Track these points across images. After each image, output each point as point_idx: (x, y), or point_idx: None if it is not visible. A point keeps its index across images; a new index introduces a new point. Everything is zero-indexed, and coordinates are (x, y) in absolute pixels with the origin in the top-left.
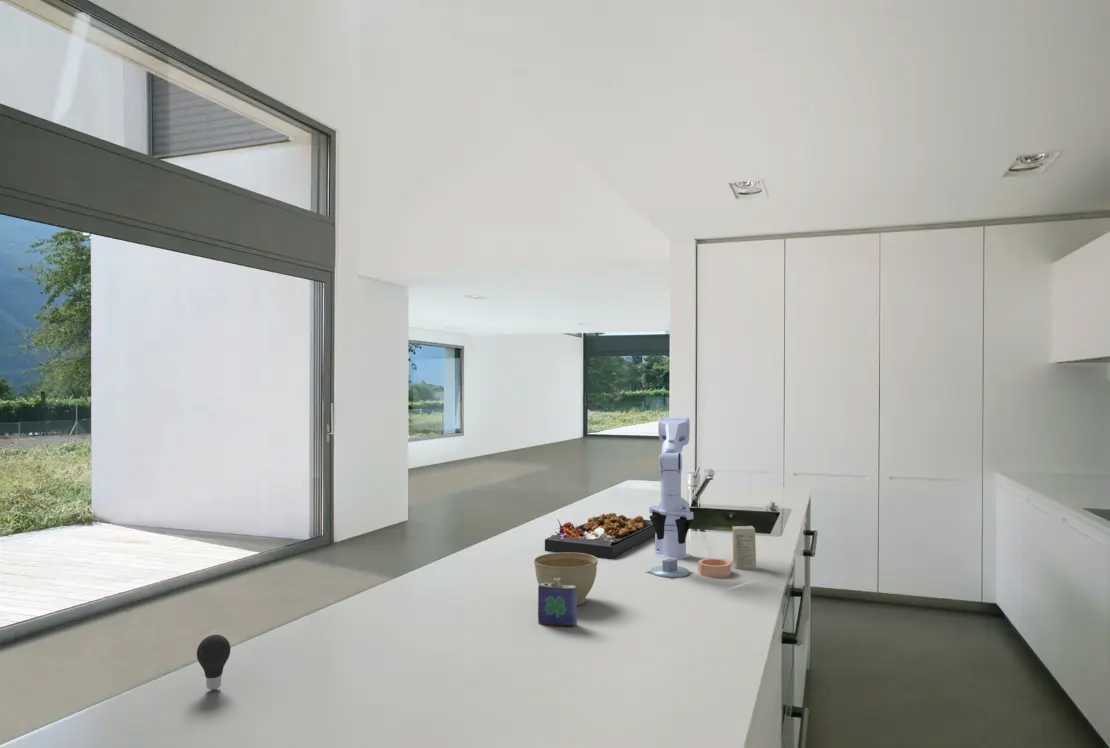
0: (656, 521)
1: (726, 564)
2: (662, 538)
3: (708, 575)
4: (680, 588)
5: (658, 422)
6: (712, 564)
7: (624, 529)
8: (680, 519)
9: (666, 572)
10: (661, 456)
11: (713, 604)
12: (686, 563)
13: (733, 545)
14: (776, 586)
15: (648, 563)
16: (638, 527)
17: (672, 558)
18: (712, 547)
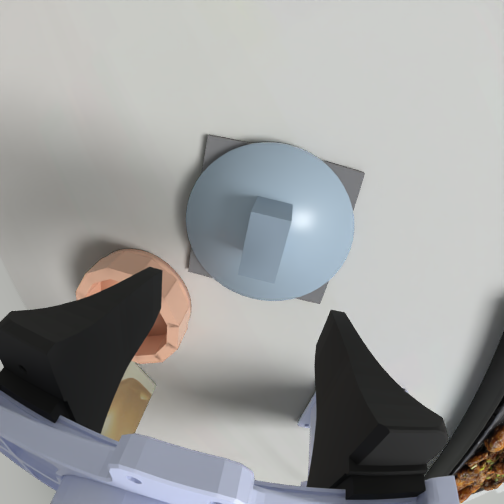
0: (360, 402)
1: None
2: (320, 338)
3: (126, 252)
4: (134, 62)
5: None
6: (160, 342)
7: (498, 446)
8: (29, 370)
9: (265, 190)
10: None
11: (16, 19)
12: (282, 369)
13: (122, 421)
14: (2, 261)
15: (403, 315)
16: (463, 473)
17: (267, 281)
18: (287, 475)
